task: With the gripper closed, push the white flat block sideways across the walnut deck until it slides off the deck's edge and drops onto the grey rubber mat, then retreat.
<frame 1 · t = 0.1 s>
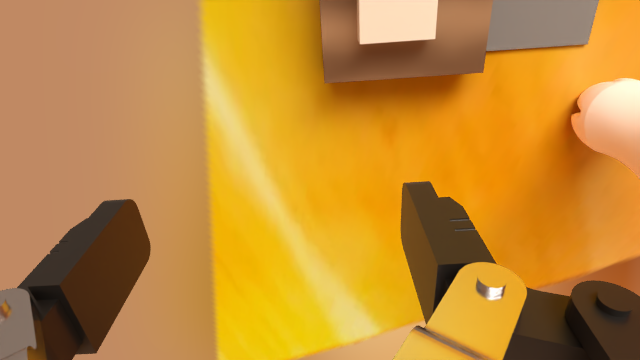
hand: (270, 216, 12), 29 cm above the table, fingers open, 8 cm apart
water bottle: (597, 106, 40), on the table
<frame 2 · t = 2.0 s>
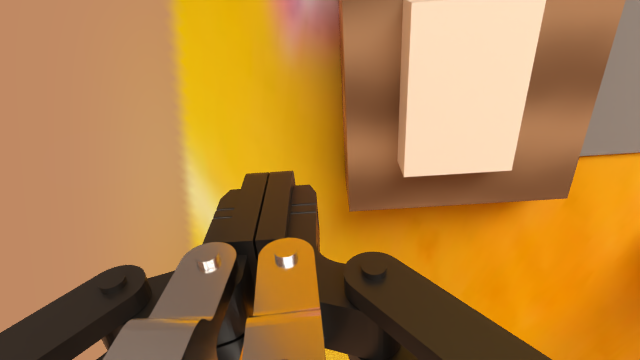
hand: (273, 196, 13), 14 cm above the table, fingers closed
deck: (451, 65, 25), on the table
white flat block: (455, 84, 21), point 4 cm above the table, touching deck
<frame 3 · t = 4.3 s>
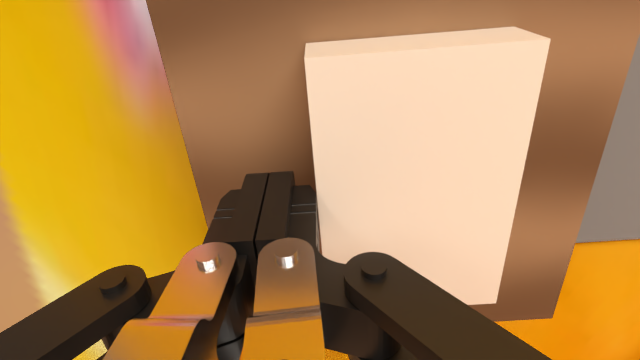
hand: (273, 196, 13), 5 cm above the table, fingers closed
deck: (379, 126, 17), on the table
white flat block: (404, 171, 13), point 4 cm above the table
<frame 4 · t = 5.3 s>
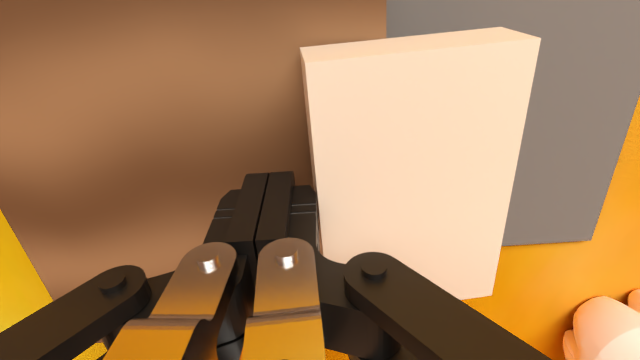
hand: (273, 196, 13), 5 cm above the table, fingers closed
deck: (212, 137, 17), on the table
water bottle: (608, 317, 23), on the table
white flat block: (398, 171, 14), point 4 cm above the table, tilted 6°, touching deck, gripper
mat: (501, 104, 17), on the table
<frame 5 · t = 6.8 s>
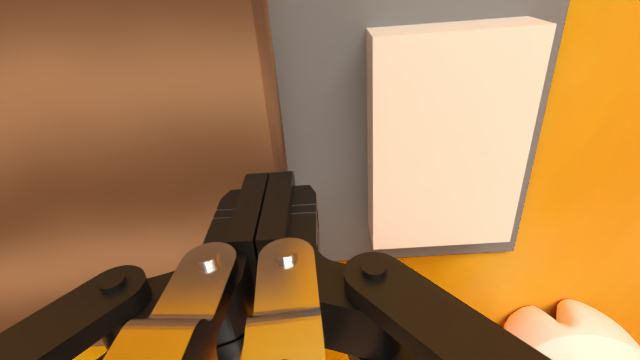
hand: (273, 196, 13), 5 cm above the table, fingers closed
deck: (127, 146, 17), on the table
water bottle: (541, 326, 24), on the table
white flat block: (451, 153, 15), point 2 cm above the table, tilted 180°, touching mat
mat: (411, 117, 17), on the table
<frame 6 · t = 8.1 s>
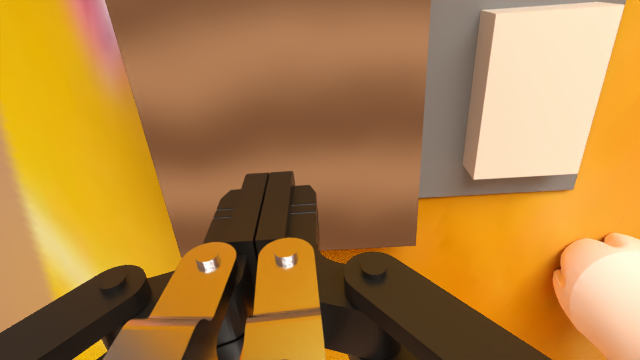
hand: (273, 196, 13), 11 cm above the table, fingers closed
deck: (288, 101, 23), on the table
water bottle: (589, 259, 29), on the table
white flat block: (540, 101, 21), point 2 cm above the table, tilted 180°, touching mat
mat: (504, 78, 22), on the table
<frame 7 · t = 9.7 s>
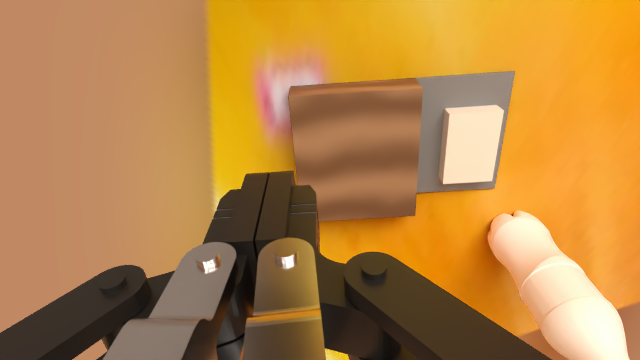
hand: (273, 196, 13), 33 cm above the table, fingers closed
deck: (354, 146, 48), on the table
water bottle: (507, 225, 54), on the table
white flat block: (471, 149, 46), point 2 cm above the table, tilted 180°, touching mat
mat: (457, 136, 47), on the table
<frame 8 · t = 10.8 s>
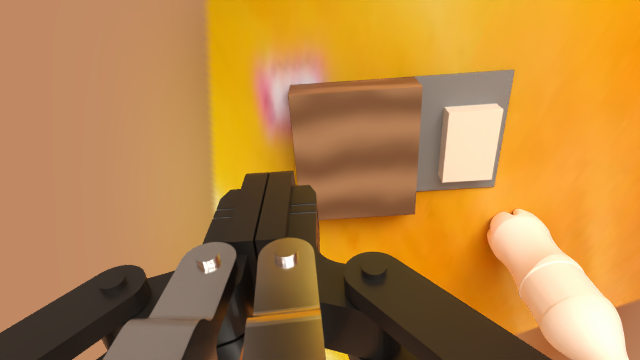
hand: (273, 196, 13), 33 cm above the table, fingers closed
deck: (353, 145, 48), on the table
water bottle: (507, 223, 54), on the table
white flat block: (471, 147, 46), point 2 cm above the table, tilted 180°, touching mat
mat: (456, 135, 47), on the table
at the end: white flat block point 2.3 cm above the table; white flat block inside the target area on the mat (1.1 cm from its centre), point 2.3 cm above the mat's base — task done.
